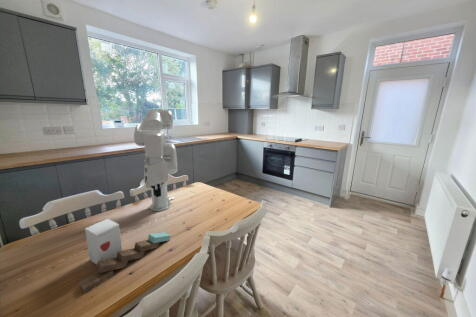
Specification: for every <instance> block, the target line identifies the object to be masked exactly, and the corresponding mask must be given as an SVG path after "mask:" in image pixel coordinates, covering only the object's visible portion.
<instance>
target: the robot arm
mask: <svg viewBox="0 0 476 317" xmlns="http://www.w3.org/2000/svg"><path fill="white" fill-rule="evenodd" d="M173 122H174V117H173V113H172V112H171V110H169V109H157V108H156V109H153V108H151V109H149V110H148V111H147V112H146V116H145V117H144V118H143V120H142V121H141V122H139V123H138V124H137V125H136V126H135V128H134V132H133V142H134V144H135V145H136V146H138V147H144V155H145V156H144V157H145V158H144V159H143V163H144V167H143V168H144V170H143V179H144V180H143V181H144V183H145V188H146V189H150V190H151V191H150V192H151V202H152V203H151V204H150V205H149V209H150V211H154V212H162V211H165V210H168V209H169V208H170V207H171V202H172V201H173V200H175V198H174V196H171V197H170V196H168V182H167V181H168V180H169V175H174V174H176V173H177V172H178V170H179V169H178V157H177V156H178V155H177V147H176V145H175V144H173V143H167V139H168V138H167V133H166V132H165V131H164V130H170V129H173Z"/></svg>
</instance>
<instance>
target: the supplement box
mask: <svg viewBox="0 0 476 317" xmlns="http://www.w3.org/2000/svg"><path fill="white" fill-rule="evenodd" d="M84 233H85V238H86V244H87V250H88V259H89V261H91V262H92V263H94V264H95V265H96V266H97V262H98V261H100V260H105V259H110V258H115V257H117V253H118V251H123V246H122V238H121V229H120V224H119V223H118V222H116V221H113V220H111V219H110V218H105V219H104V220H101V221H99V222H96V223H93V225H92V224H91V225H89V226H87V227H85V228H84Z"/></svg>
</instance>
